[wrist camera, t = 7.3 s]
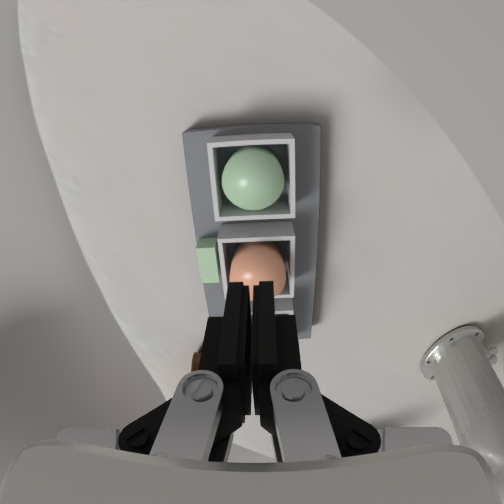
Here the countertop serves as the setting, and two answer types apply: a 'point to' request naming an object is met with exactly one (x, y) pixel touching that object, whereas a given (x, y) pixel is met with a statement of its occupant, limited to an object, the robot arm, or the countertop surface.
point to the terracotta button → (258, 265)
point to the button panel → (257, 211)
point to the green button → (253, 177)
